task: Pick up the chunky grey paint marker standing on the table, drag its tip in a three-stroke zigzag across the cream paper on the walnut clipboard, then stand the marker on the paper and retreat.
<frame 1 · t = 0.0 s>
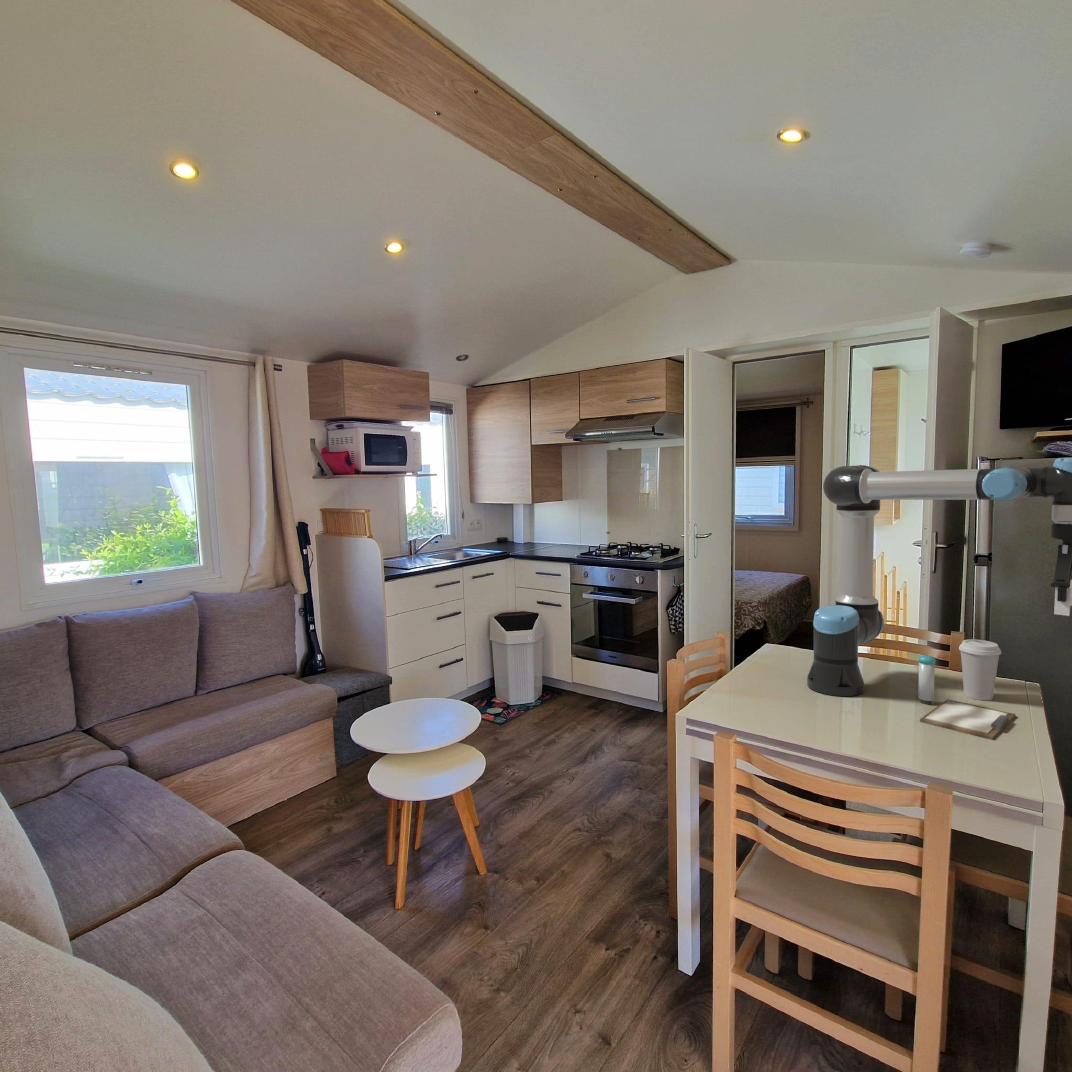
hand: (1068, 610, 148), 28 cm above the table, fingers open, 13 cm apart
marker: (925, 702, 166), on the table
clipboard: (967, 719, 154), on the table
coffee cup: (978, 696, 169), on the table
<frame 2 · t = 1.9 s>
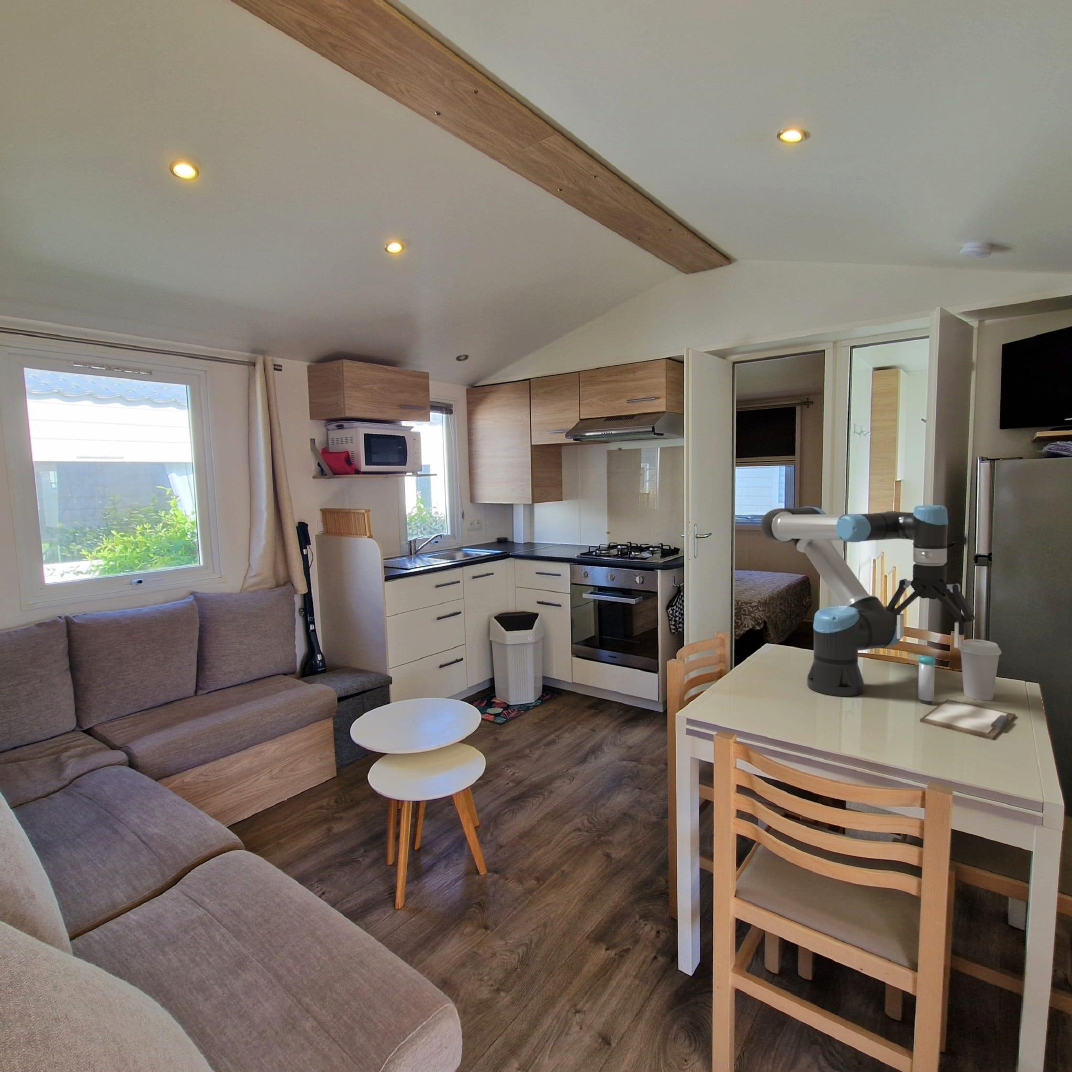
hand: (928, 642, 164), 17 cm above the table, fingers open, 13 cm apart
nothing on the table moved.
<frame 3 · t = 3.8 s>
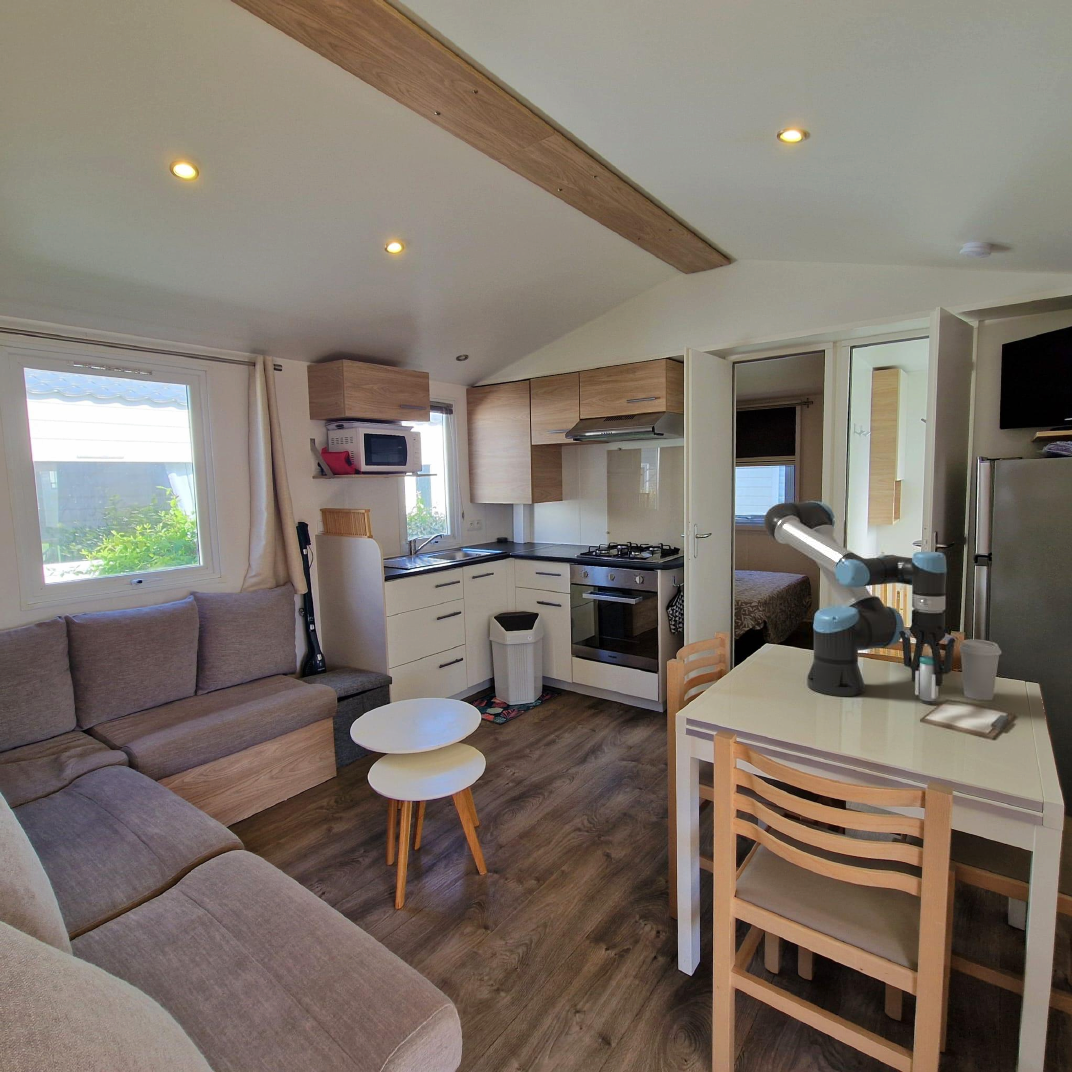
hand: (926, 695, 165), 2 cm above the table, fingers closed on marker, 3 cm apart
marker: (926, 702, 166), on the table, touching gripper
everything else where it was.
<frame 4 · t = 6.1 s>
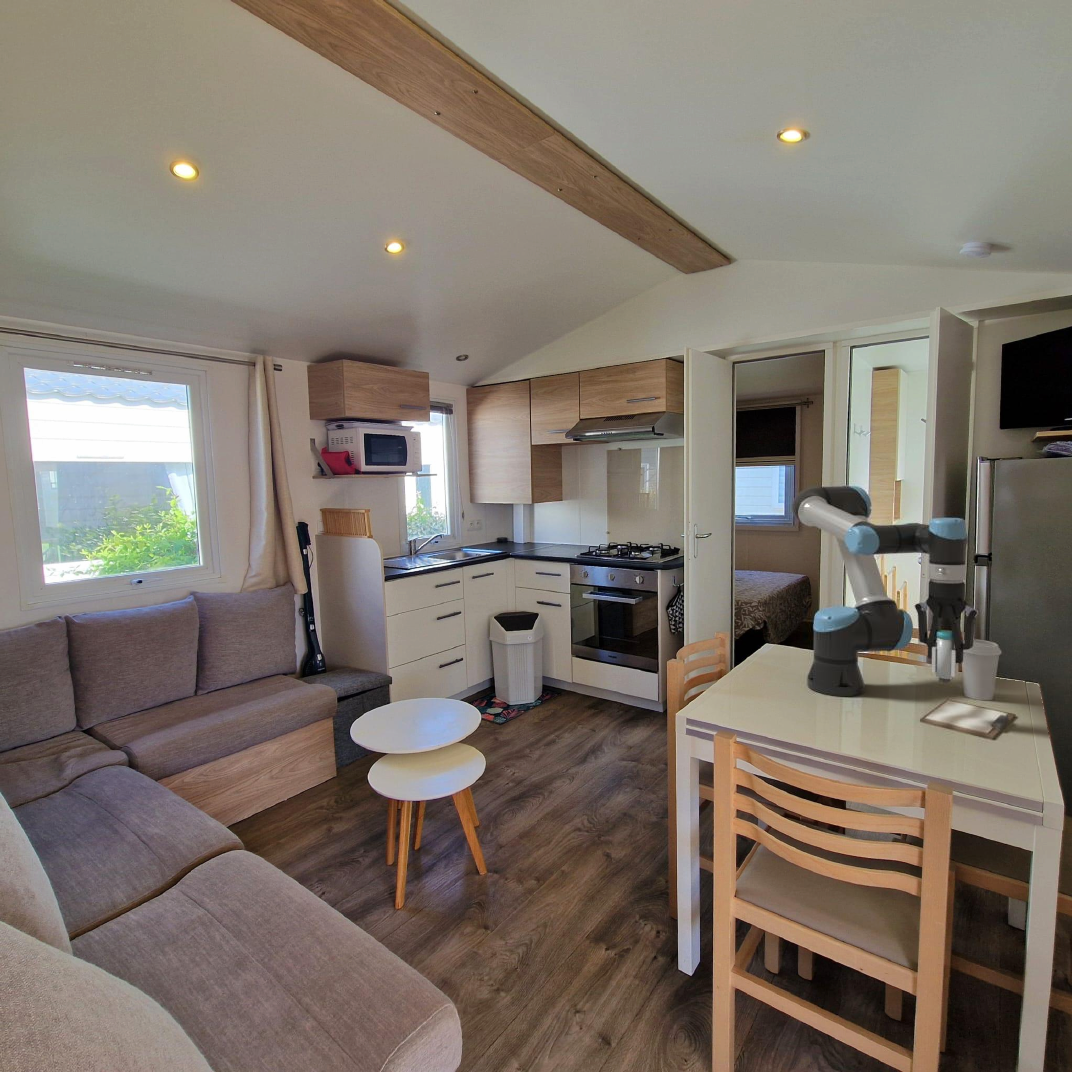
hand: (944, 673, 153), 12 cm above the table, fingers closed on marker, 3 cm apart
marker: (944, 681, 153), point 10 cm above the table, touching gripper
everything else where it was.
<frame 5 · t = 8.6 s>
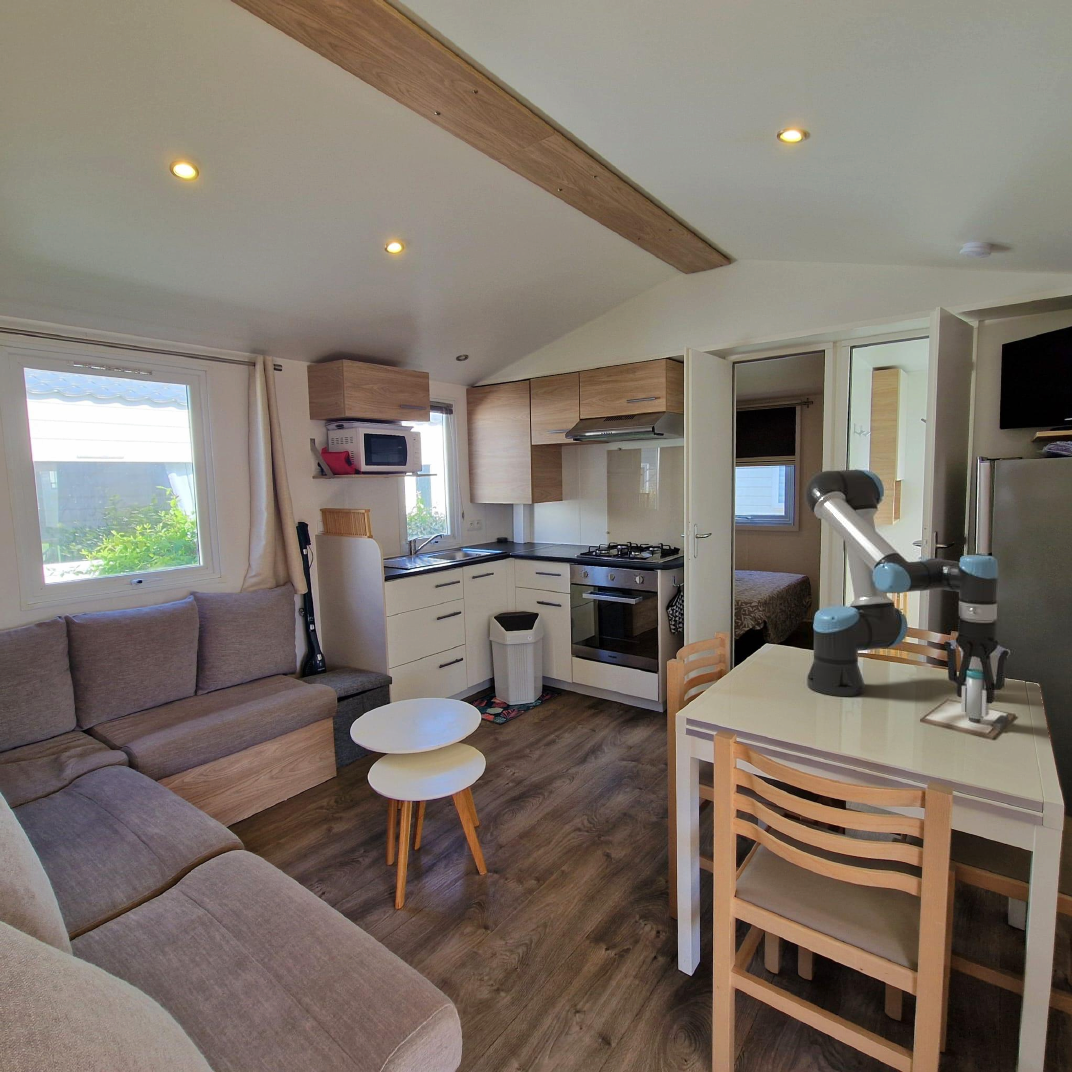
hand: (974, 712, 151), 3 cm above the table, fingers closed on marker, 3 cm apart
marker: (974, 720, 151), point 1 cm above the table, touching gripper
everything else where it was.
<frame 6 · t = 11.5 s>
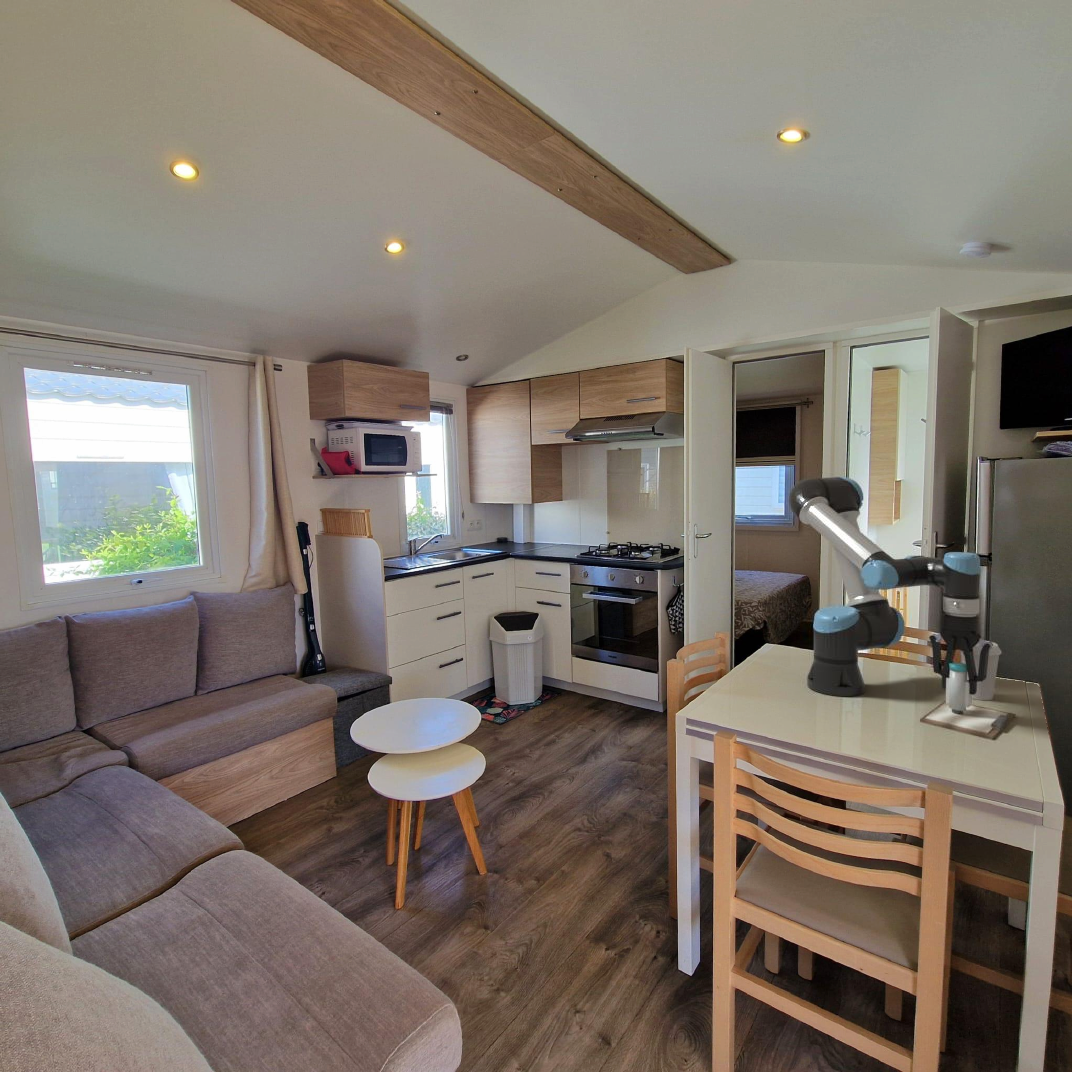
hand: (958, 703, 157), 3 cm above the table, fingers closed on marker, 3 cm apart
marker: (957, 712, 156), point 1 cm above the table, touching gripper
everything else where it was.
when the fingers open (3 cm above the table, at t = 13.3 s): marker stays where it is, resting on clipboard.
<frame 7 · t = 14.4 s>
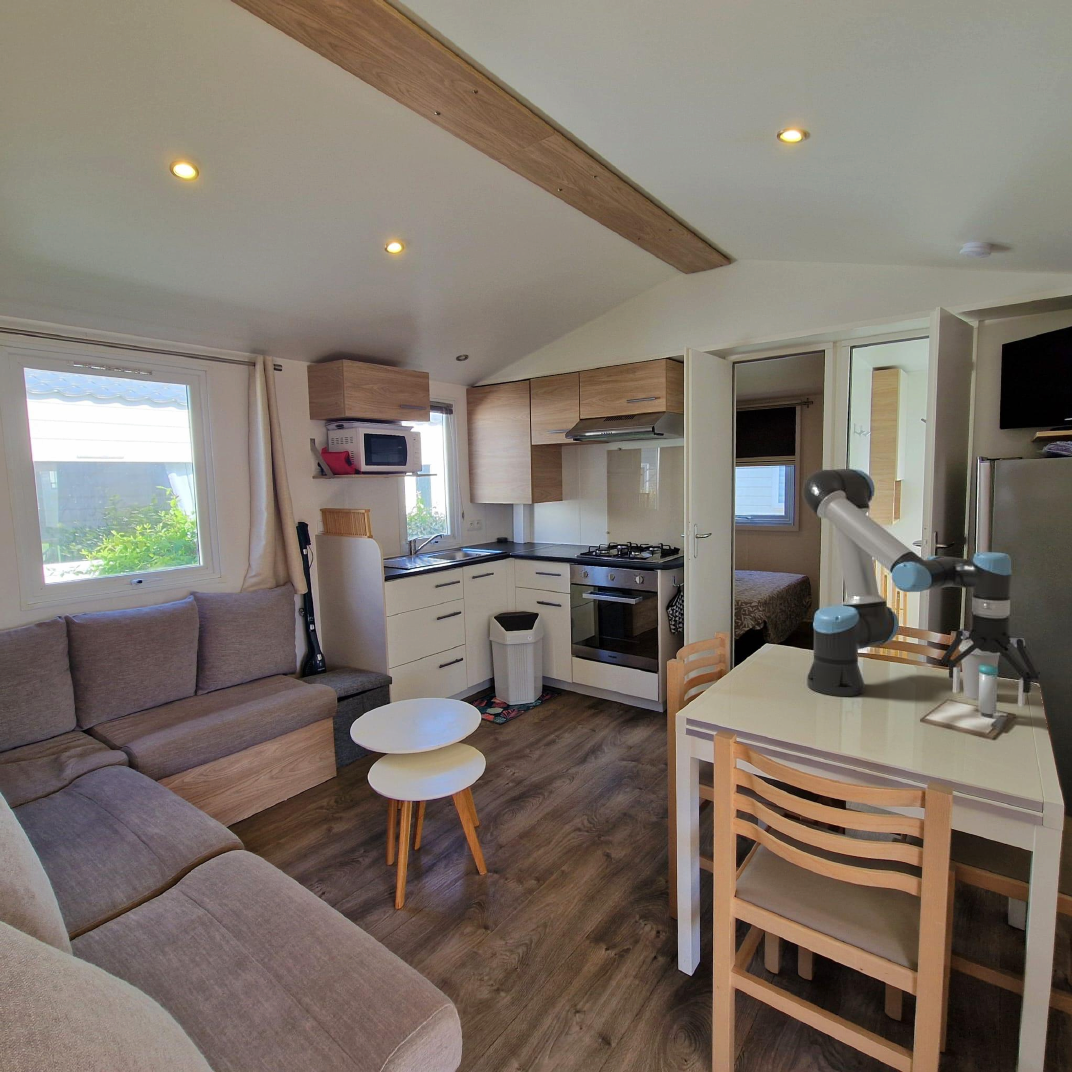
hand: (987, 697, 154), 5 cm above the table, fingers open, 13 cm apart
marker: (986, 715, 154), point 1 cm above the table, touching clipboard
everything else where it was.
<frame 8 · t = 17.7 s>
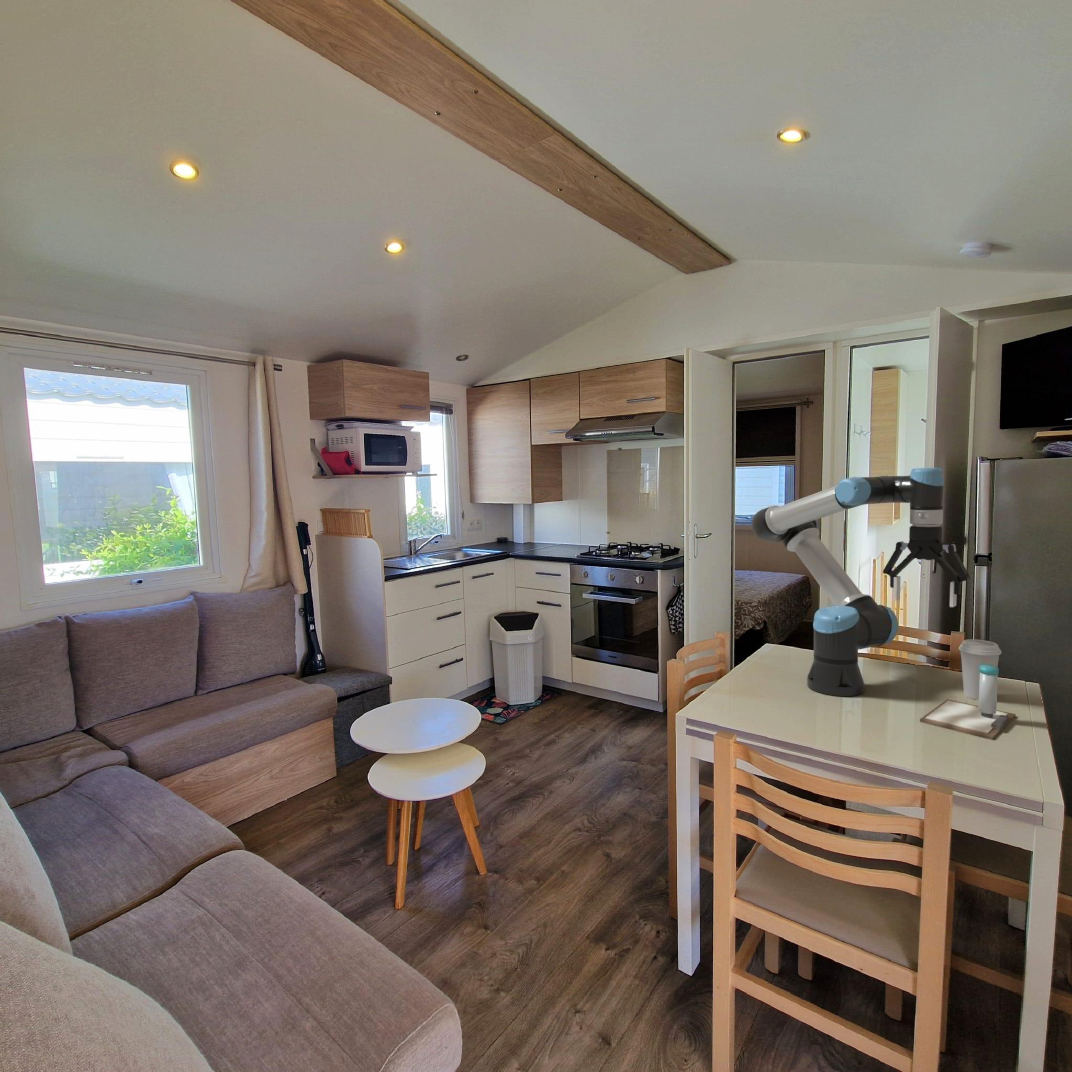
hand: (923, 603, 167), 27 cm above the table, fingers open, 13 cm apart
nothing on the table moved.
at the end: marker inside the target area on the clipboard (4.5 cm from its centre), point 0.8 cm above the clipboard's base; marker moved 14.3 cm from its start; the gripper is holding nothing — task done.
